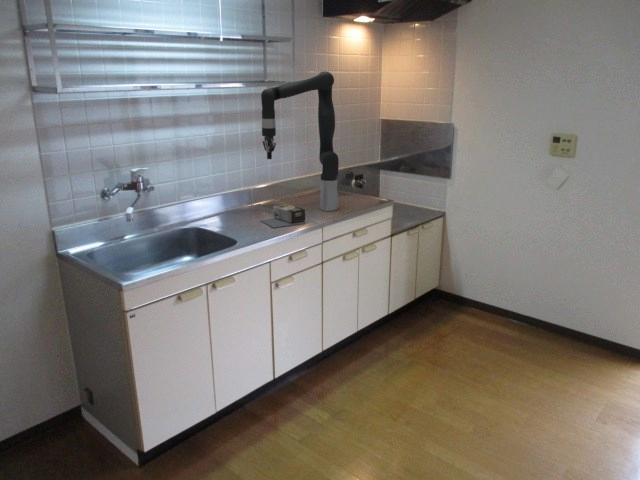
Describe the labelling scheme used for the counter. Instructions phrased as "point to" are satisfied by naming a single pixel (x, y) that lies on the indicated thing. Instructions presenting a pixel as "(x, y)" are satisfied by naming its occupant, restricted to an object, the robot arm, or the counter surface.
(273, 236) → the counter surface
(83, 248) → the counter surface
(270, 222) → the rubber mat
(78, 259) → the counter surface
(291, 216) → the coffee box
